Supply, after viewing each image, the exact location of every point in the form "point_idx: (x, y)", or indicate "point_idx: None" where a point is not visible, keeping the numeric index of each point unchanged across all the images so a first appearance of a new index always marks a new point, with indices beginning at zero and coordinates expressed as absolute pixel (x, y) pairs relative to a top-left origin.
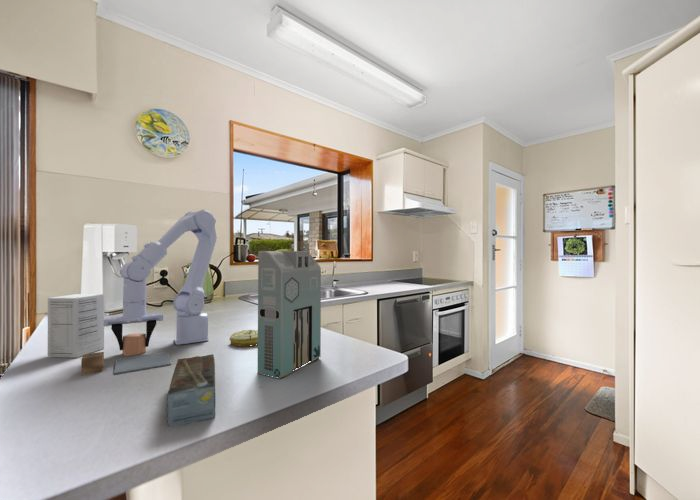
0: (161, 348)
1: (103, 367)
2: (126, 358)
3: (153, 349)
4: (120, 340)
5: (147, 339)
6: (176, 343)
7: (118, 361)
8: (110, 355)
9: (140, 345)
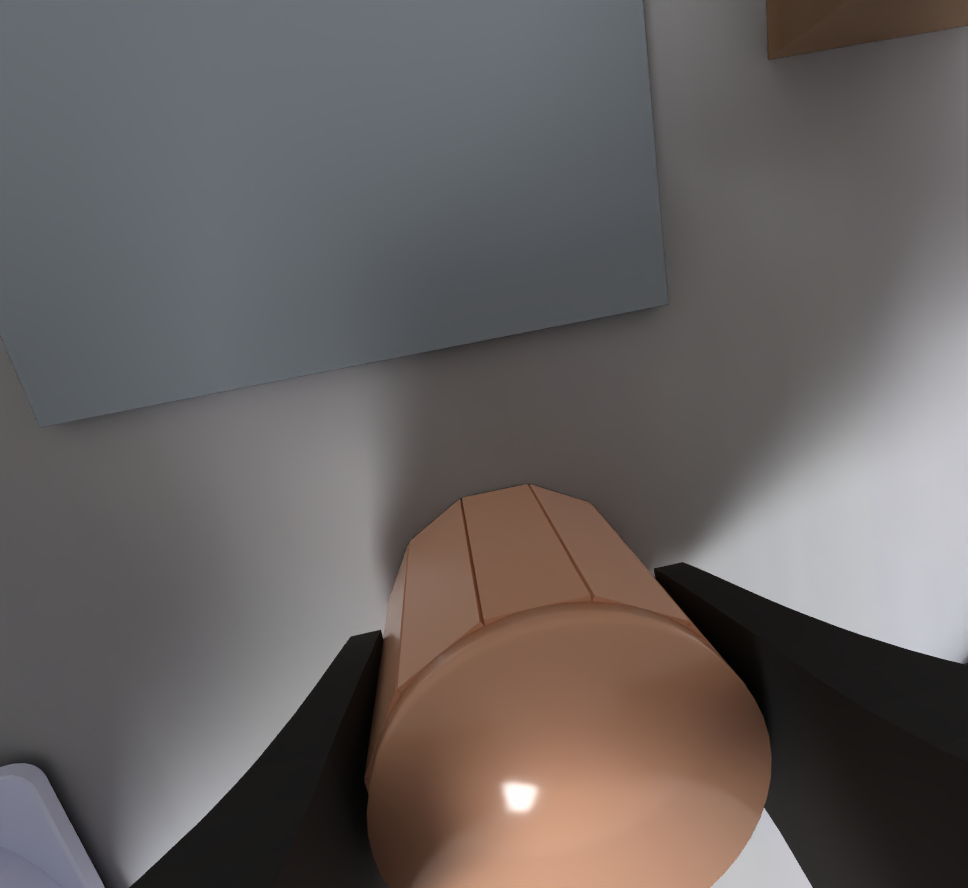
0: (218, 682)
1: (767, 30)
2: (550, 283)
3: (312, 666)
4: (773, 624)
5: (330, 698)
6: (27, 788)
7: (627, 167)
8: (749, 570)
9: (431, 578)
